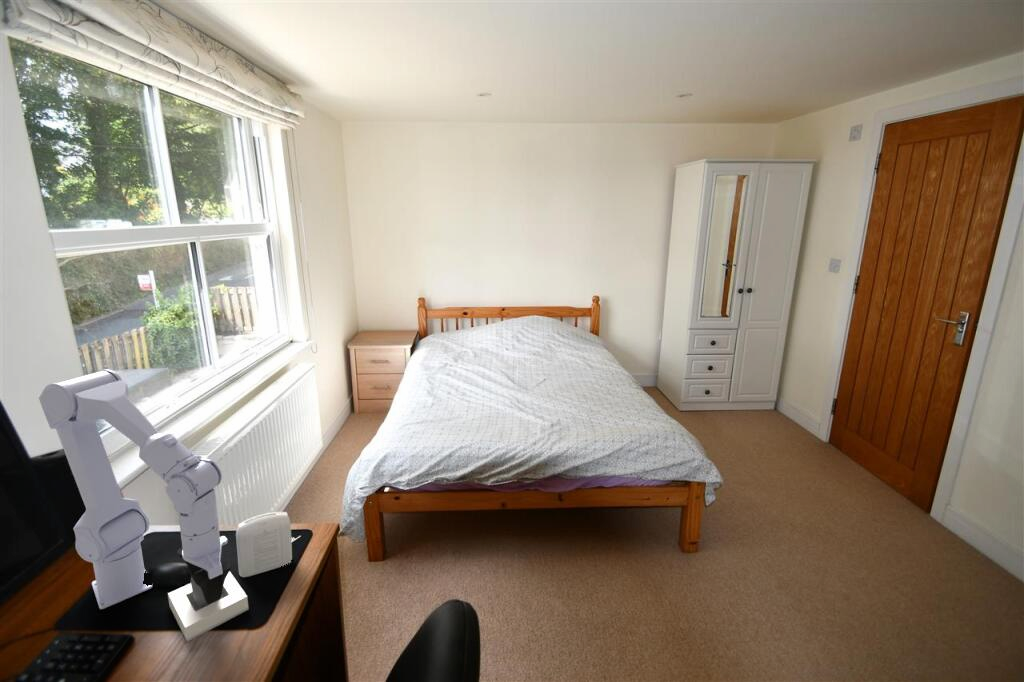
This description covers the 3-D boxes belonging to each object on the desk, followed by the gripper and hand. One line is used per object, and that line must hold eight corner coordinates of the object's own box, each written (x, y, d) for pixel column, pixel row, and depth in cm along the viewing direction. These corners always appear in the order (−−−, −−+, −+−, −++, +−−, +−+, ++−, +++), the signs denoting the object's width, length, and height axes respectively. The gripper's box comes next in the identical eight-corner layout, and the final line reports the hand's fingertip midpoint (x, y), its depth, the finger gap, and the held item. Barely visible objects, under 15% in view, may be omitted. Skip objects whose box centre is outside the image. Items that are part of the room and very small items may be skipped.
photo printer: (291, 552, 104) (287, 503, 101) (294, 564, 101) (291, 514, 98) (238, 568, 98) (233, 517, 96) (239, 581, 95) (234, 529, 92)
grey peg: (193, 605, 88) (187, 575, 86) (217, 593, 91) (212, 564, 89) (199, 618, 85) (193, 587, 83) (223, 605, 88) (219, 575, 86)
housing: (169, 606, 88) (167, 593, 87) (228, 579, 95) (226, 566, 95) (187, 641, 81) (185, 627, 80) (248, 609, 88) (247, 596, 88)
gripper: (238, 535, 82) (244, 598, 86) (211, 501, 92) (217, 560, 95) (192, 553, 77) (200, 621, 80) (168, 516, 86) (176, 577, 90)
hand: (207, 589), depth 87 cm, fingers open, 7 cm apart
